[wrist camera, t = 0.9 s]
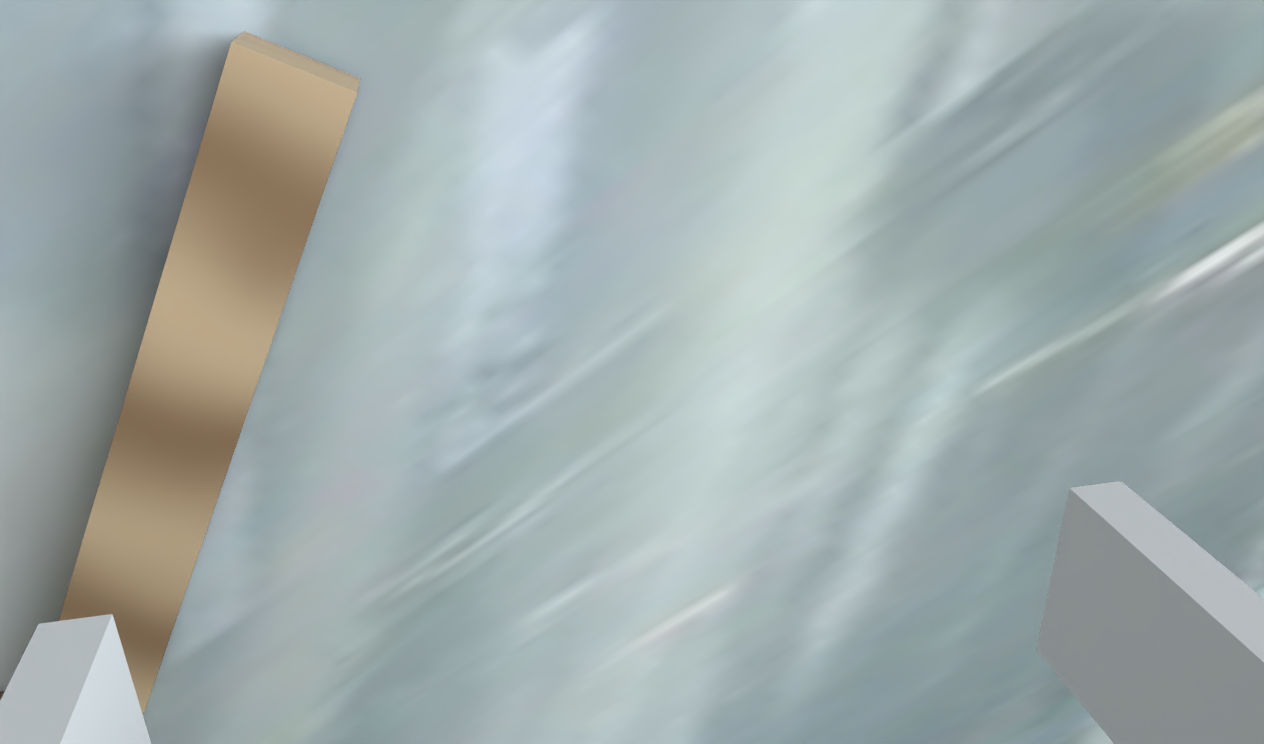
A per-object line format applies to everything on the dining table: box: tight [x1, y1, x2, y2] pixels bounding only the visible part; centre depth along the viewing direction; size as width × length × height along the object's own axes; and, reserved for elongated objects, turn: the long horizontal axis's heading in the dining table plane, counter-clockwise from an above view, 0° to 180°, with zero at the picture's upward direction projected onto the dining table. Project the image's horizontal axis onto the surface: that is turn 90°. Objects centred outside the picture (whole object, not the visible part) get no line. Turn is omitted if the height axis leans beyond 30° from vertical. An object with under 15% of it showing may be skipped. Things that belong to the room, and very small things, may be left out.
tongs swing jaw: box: [59, 31, 360, 714], centre depth 28 cm, size 22×3×2 cm, turn 155°
